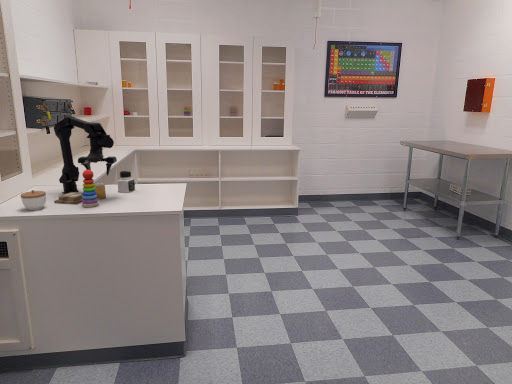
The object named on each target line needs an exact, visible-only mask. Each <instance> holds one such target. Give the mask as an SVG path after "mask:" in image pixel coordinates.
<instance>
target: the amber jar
mask: <svg viewBox="0 0 512 384" xmlns="http://www.w3.org/2000/svg"><path fill="white" fill-rule="evenodd" d="M94 184H95V186H94V187H95V188H96V189H95V191H96V194H97V198H98V200H103V199H104V200H105V199H106V198H107V192H106V184H105V183H104V182H97V183H96V182H95V183H94Z"/></svg>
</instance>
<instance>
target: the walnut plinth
mask: <svg viewBox="0 0 512 384" xmlns="http://www.w3.org/2000/svg"><path fill="white" fill-rule="evenodd" d="M82 196H83V194H82V192H79V191H78V192H70V193H67V194H66V193H63V194H62V195H58V199H55V200H54V201H53V202H54V204H61V205H62V204H65V205H79V204H82V203H83V202H82V199H83V198H82Z"/></svg>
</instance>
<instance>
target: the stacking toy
mask: <svg viewBox="0 0 512 384" xmlns="http://www.w3.org/2000/svg"><path fill="white" fill-rule="evenodd" d="M82 177H83V180H82V182H83V184H82V192H81V193H82V194H83V196H82V198H83V199H82V202H81V206H82V207H84V208H95V207H97V206H99V204H100V203H99V201H98V200H99V199H98V198H97V194H96V191H95V189H96V188H95V184H96V183H94V182H95V179H93V177H94V172H93V171H92V169H91V170H87V169H85V170H83V172H82Z"/></svg>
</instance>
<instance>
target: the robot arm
mask: <svg viewBox="0 0 512 384" xmlns="http://www.w3.org/2000/svg"><path fill="white" fill-rule="evenodd" d="M74 128H79V129H81V130H84V132H85V133H87V134H88V135H87V136H86V139H89V146H90V149H89V153H88V155H87V156H80V157H78V158H77V163H78V164H80V165H82V166H84V168H85V170H91V171H92V169H91V163H94V164H97V163H99V162H105V167H106V176H109V174H110V170H111V168H112V165H113V164H115V163H116V162H118V160H117V157H116V156H107V157H104V154H103V150H104V149H111V148H113V147H114V144H115V142H114V139H113V138H112V137H111V135H110V134H107V132H106V131H105V129H104V128H103V126H102V124H101V123H100V122H89V121H86V120H83V119H81V118H77V117H75V116H66V117H64V118H63V119H62V120H59V121H57V123H55V124H54V126H53V131H54V135H55V136H56V138H58V140H59V144H60V151H61V156H62V161H63V167H62V168H61V169H62V170H61V176H60V177H59V179H58V181H59V183H60V184H62V189H63V191H61V194H67V193H70V192H79V190H78V184H77V182H78V181H79V178H80V171H79V170H80V168H79V167H78V166H76V165H75V163H74V157H73V151H72V146H71V141H70V138H71V136H72V130H73V129H74Z"/></svg>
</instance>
